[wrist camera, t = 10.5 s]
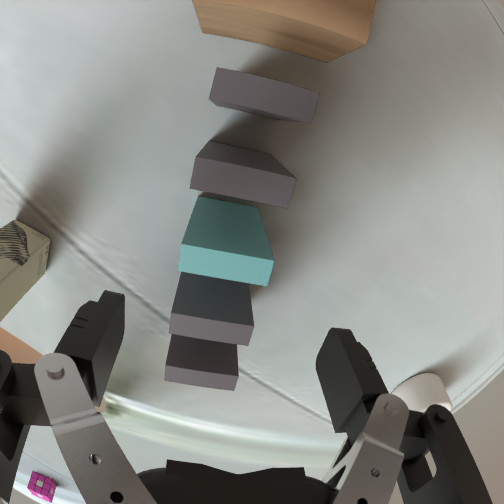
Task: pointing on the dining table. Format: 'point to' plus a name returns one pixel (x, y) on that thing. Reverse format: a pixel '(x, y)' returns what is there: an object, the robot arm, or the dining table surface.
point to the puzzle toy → (41, 486)
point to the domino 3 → (226, 243)
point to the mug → (423, 392)
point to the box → (20, 262)
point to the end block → (291, 24)
